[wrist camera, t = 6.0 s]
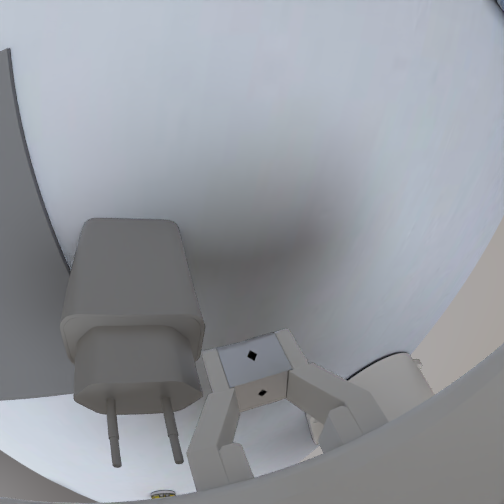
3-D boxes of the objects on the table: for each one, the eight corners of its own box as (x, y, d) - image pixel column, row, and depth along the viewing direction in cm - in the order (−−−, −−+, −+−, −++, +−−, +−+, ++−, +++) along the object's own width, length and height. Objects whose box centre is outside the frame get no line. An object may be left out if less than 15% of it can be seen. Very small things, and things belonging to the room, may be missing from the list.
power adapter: (81, 217, 15) (42, 444, 5) (180, 220, 17) (249, 435, 7) (84, 266, 16) (72, 479, 7) (175, 268, 18) (230, 470, 9)
